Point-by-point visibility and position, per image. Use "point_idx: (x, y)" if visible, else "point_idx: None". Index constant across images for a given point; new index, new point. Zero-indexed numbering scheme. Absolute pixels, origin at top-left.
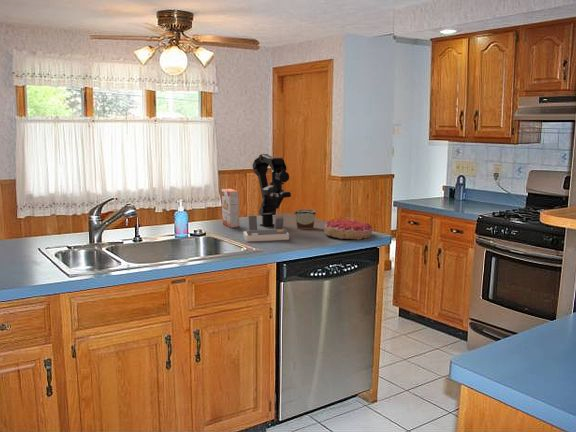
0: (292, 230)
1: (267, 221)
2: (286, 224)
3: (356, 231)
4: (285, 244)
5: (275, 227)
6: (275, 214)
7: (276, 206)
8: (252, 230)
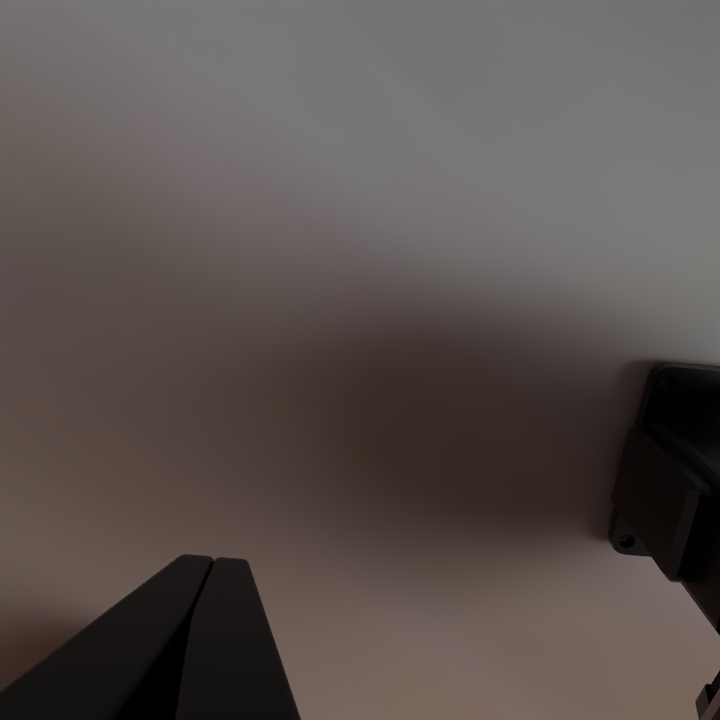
0: (87, 487)
1: (705, 448)
2: (538, 715)
3: None
4: None
5: None
6: (697, 705)
7: (143, 600)
8: None
